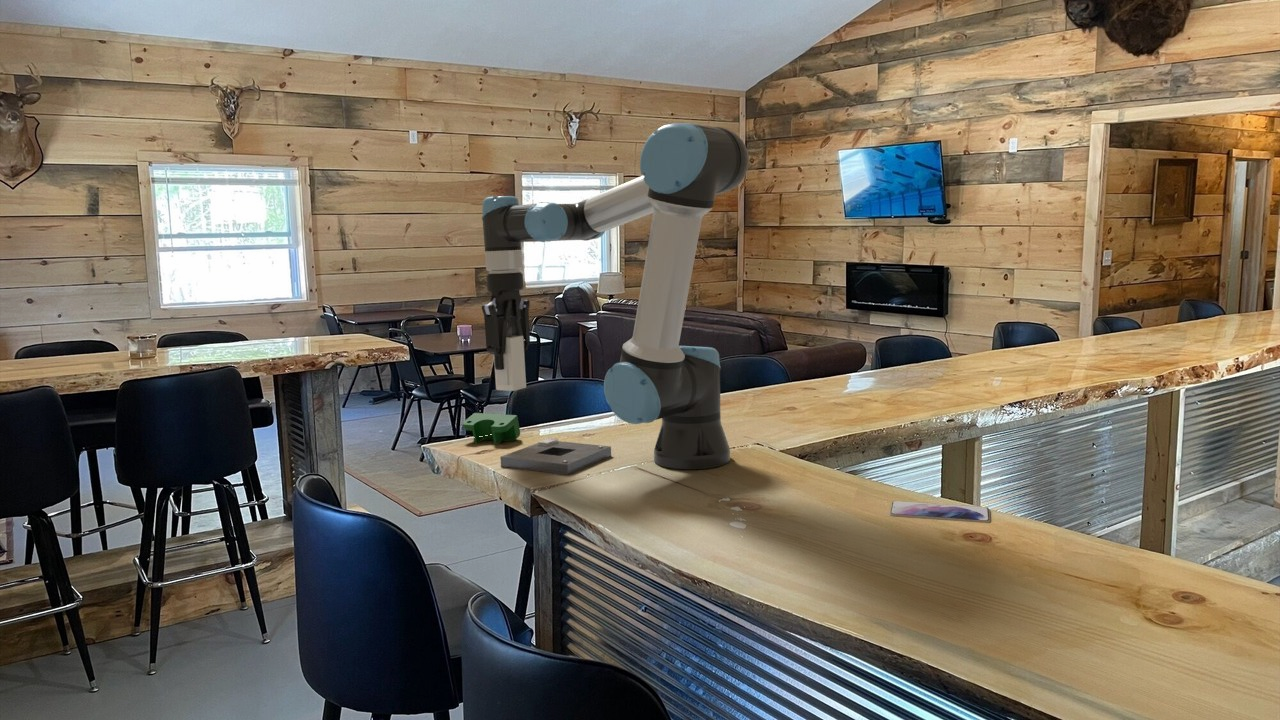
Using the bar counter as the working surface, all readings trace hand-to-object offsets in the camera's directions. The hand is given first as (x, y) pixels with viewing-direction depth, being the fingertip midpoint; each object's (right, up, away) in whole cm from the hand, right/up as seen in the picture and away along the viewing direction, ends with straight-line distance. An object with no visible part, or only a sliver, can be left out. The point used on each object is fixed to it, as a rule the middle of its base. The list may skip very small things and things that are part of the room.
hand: (511, 382), depth 195 cm
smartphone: (+75, -20, -48) cm, 91 cm away
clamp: (-6, -14, +12) cm, 19 cm away
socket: (+10, -16, -8) cm, 20 cm away
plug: (0, -1, 0) cm, 1 cm away
